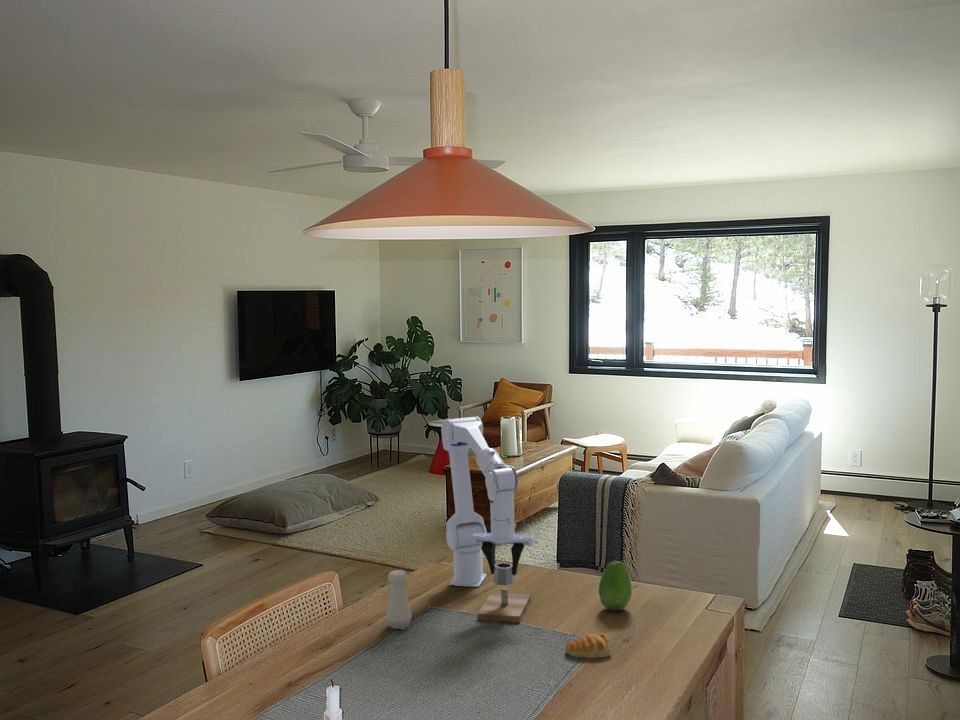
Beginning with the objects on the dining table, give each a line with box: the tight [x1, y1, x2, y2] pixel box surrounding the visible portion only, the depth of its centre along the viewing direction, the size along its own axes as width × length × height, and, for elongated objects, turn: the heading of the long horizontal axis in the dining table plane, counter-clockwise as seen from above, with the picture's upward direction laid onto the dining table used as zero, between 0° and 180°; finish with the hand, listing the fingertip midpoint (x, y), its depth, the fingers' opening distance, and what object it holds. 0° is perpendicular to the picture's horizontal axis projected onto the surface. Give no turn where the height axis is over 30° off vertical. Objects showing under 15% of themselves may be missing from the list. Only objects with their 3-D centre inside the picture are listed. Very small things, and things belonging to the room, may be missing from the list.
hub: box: [493, 561, 515, 586], centre depth 198 cm, size 5×5×4 cm
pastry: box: [564, 632, 613, 659], centre depth 173 cm, size 9×7×4 cm
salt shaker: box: [385, 569, 412, 630], centre depth 190 cm, size 6×6×13 cm
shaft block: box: [477, 588, 531, 624], centre depth 198 cm, size 14×10×5 cm
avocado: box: [598, 560, 632, 612], centre depth 196 cm, size 8×8×12 cm
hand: (503, 573), depth 198 cm, fingers closed on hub, 5 cm apart
